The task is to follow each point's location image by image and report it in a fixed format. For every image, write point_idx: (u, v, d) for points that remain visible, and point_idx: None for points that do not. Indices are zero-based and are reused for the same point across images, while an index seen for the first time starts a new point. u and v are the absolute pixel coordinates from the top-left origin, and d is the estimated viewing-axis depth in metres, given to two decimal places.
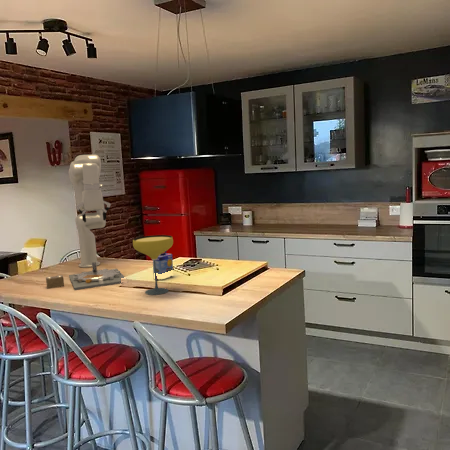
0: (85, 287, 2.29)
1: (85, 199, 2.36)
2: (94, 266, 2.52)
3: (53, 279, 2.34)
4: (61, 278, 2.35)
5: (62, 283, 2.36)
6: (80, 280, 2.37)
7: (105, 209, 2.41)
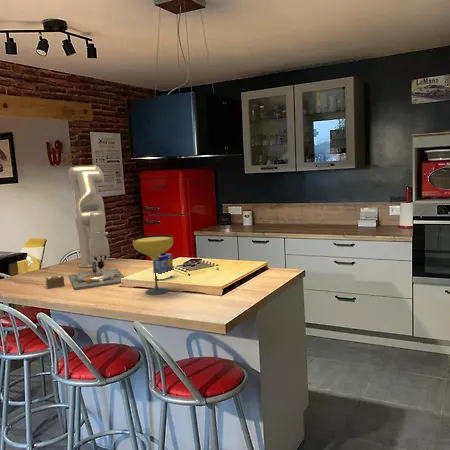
0: (85, 287, 2.29)
1: (92, 246, 2.49)
2: (94, 266, 2.52)
3: (54, 279, 2.34)
4: (62, 278, 2.36)
5: (62, 283, 2.36)
6: (80, 280, 2.37)
7: (104, 259, 2.54)
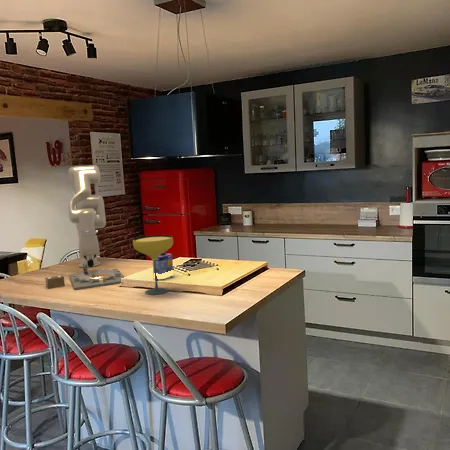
0: (85, 287, 2.29)
1: (81, 245, 2.48)
2: (86, 268, 2.49)
3: (54, 279, 2.34)
4: (62, 278, 2.36)
5: (63, 283, 2.36)
6: (93, 280, 2.36)
7: (94, 257, 2.52)
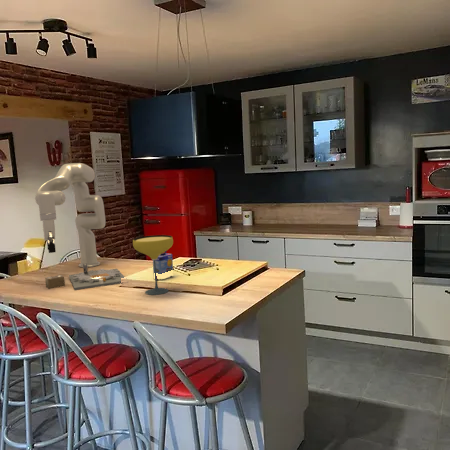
0: (85, 287, 2.29)
1: (54, 228, 2.31)
2: (86, 268, 2.49)
3: (54, 279, 2.34)
4: (62, 278, 2.36)
5: (63, 283, 2.37)
6: (93, 280, 2.36)
7: None
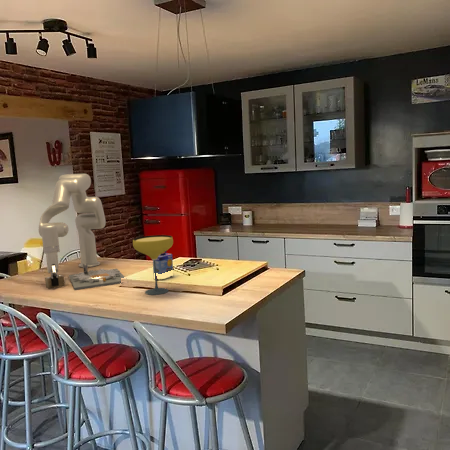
0: (85, 287, 2.29)
1: (57, 261, 2.33)
2: (86, 268, 2.49)
3: None
4: (62, 277, 2.36)
5: (63, 282, 2.37)
6: (93, 280, 2.36)
7: None
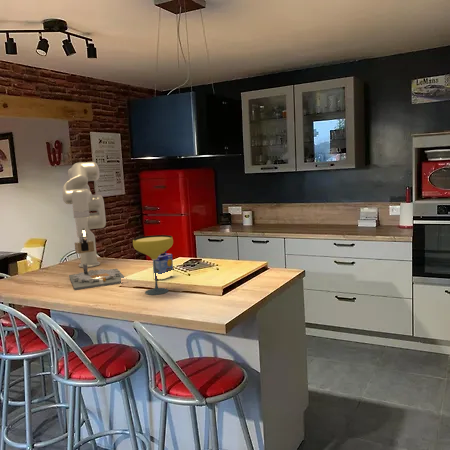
0: (85, 287, 2.29)
1: (87, 225, 2.34)
2: (86, 268, 2.49)
3: None
4: (91, 242, 2.38)
5: (92, 247, 2.39)
6: (93, 280, 2.36)
7: None
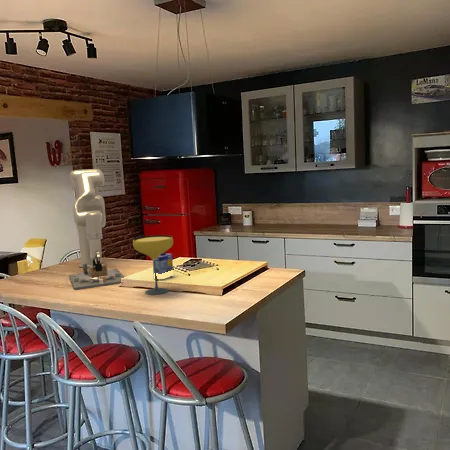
0: (85, 287, 2.29)
1: None
2: (86, 268, 2.49)
3: None
4: (104, 266, 2.41)
5: (105, 271, 2.41)
6: (93, 280, 2.36)
7: None
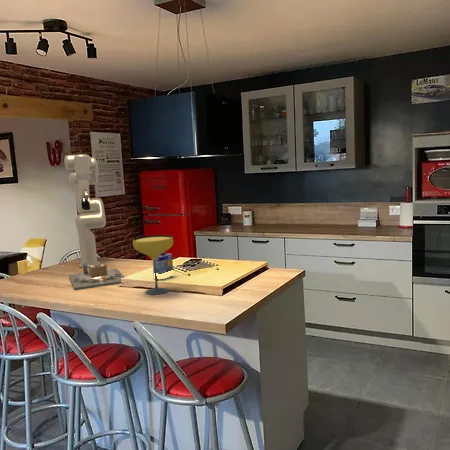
0: (85, 287, 2.29)
1: (88, 188, 2.50)
2: (86, 268, 2.49)
3: (97, 268, 2.39)
4: (104, 266, 2.41)
5: (105, 271, 2.41)
6: (93, 280, 2.36)
7: None
